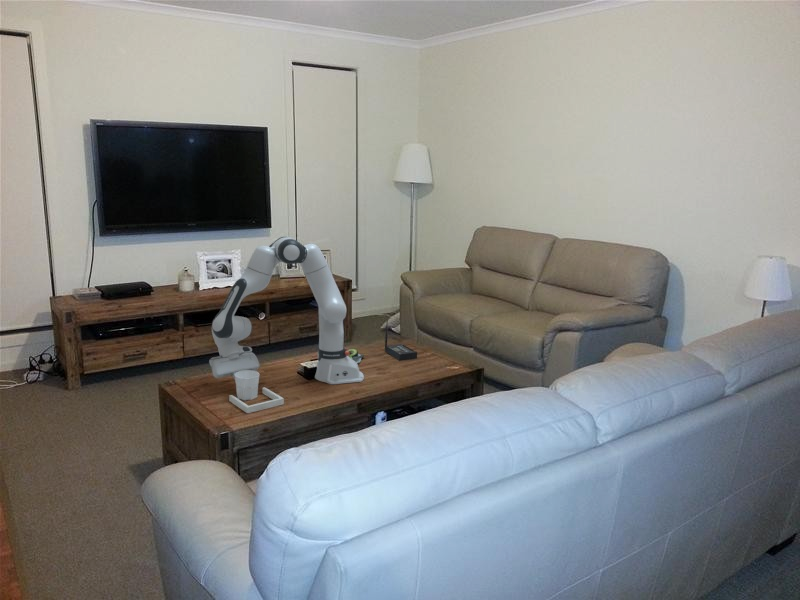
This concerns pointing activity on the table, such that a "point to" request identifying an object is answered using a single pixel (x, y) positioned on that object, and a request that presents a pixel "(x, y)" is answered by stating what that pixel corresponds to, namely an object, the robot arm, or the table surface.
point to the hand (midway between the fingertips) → (241, 382)
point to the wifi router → (399, 350)
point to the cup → (247, 384)
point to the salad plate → (355, 355)
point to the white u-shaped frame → (260, 406)
